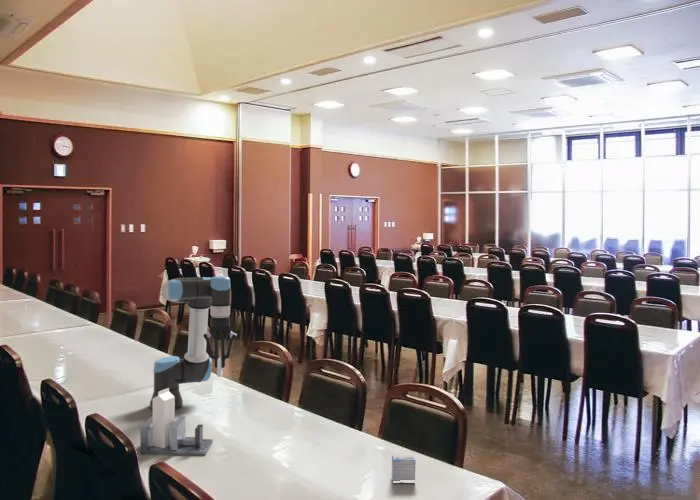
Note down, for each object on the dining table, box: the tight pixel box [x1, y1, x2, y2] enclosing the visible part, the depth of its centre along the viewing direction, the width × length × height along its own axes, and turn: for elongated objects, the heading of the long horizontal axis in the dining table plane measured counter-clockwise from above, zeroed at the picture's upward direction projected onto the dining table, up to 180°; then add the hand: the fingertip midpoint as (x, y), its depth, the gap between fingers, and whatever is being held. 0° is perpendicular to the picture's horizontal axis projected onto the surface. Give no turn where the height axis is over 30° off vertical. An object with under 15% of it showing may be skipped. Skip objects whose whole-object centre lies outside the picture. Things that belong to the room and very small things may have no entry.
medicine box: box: [391, 454, 417, 481], centre depth 201 cm, size 8×4×9 cm, turn 92°
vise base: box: [139, 416, 214, 456], centre depth 225 cm, size 12×25×10 cm, turn 91°
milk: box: [152, 388, 176, 448], centre depth 225 cm, size 6×6×22 cm
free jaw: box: [170, 415, 204, 450], centre depth 225 cm, size 12×11×9 cm
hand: (219, 375), depth 224 cm, fingers closed
